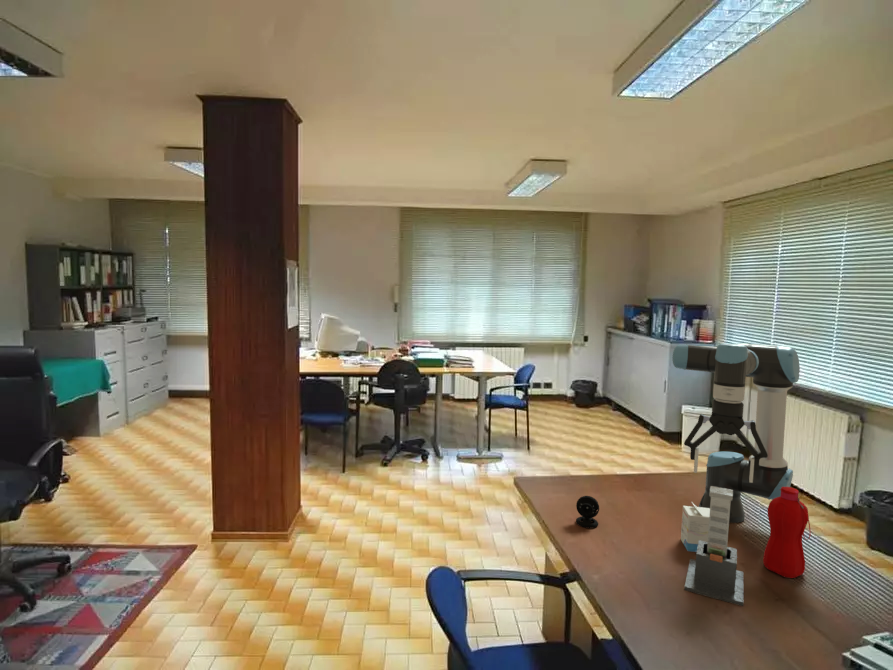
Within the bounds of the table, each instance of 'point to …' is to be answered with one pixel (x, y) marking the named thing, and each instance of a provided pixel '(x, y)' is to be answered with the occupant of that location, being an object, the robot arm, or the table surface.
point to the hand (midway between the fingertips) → (722, 476)
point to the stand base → (715, 575)
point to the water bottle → (786, 534)
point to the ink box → (694, 526)
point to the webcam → (587, 511)
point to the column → (719, 520)
